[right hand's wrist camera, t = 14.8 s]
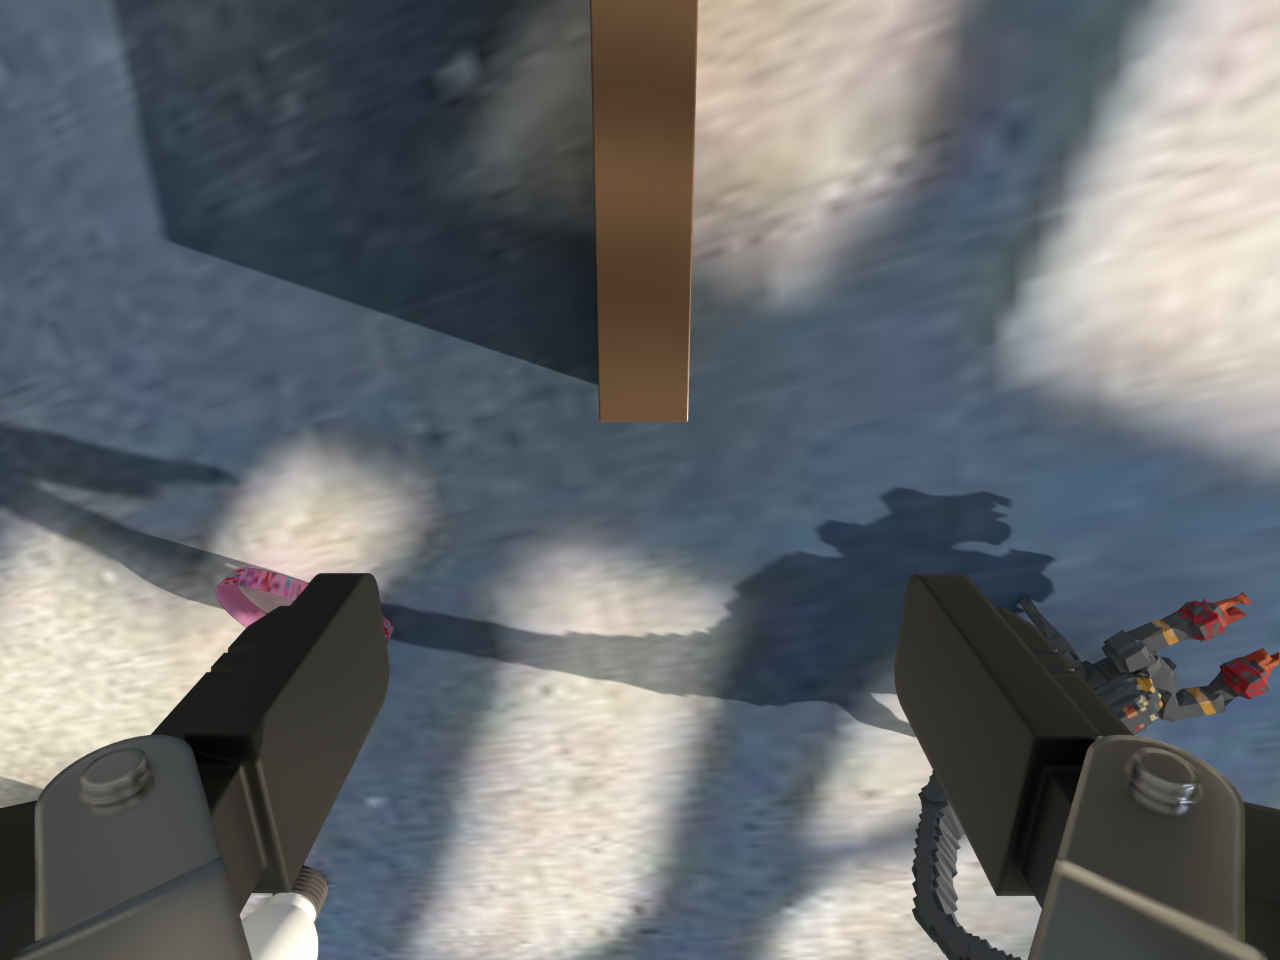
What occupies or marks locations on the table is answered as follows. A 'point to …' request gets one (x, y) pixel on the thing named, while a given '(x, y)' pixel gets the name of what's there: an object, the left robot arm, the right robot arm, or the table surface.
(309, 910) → the light bulb
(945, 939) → the toy
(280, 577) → the headband
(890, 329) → the table surface
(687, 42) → the post
